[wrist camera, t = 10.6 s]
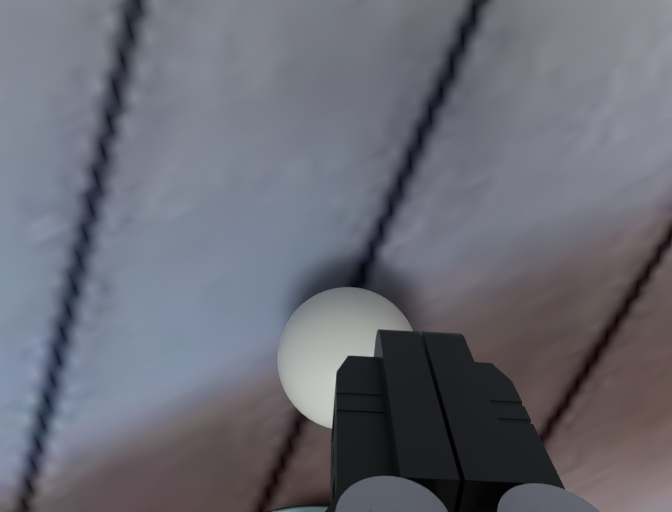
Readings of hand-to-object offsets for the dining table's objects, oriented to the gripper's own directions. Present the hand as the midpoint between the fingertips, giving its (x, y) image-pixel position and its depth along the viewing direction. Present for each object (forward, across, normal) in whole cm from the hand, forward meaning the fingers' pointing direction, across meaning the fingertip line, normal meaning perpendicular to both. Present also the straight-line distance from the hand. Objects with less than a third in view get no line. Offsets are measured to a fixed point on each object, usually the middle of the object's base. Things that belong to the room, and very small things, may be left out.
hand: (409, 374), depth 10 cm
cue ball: (+10, 0, +6) cm, 12 cm away
